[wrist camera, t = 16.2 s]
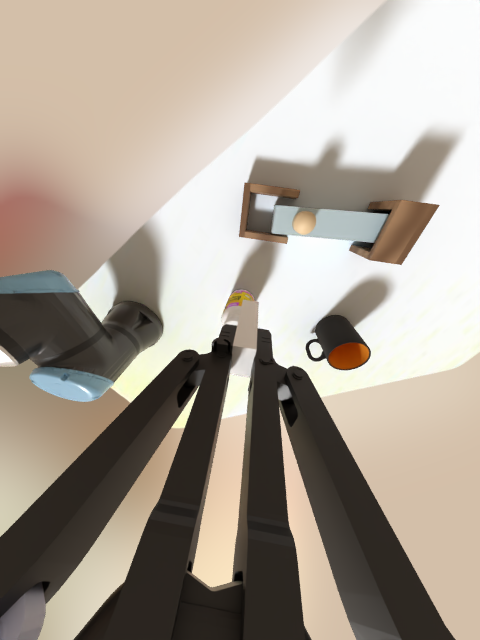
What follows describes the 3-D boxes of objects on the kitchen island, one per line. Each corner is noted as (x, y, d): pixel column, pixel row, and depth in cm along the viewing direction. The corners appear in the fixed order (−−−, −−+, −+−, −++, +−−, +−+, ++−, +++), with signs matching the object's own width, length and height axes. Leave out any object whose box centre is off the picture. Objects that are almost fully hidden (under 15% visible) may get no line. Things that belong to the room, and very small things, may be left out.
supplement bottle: (244, 283, 40) (237, 309, 30) (260, 303, 43) (259, 334, 32) (223, 298, 43) (210, 326, 32) (239, 316, 46) (232, 348, 35)
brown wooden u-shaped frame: (241, 234, 35) (239, 236, 32) (246, 185, 30) (244, 182, 27) (284, 240, 34) (286, 243, 32) (296, 192, 30) (300, 190, 27)
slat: (270, 229, 34) (272, 235, 26) (274, 205, 32) (277, 204, 24) (368, 238, 33) (399, 247, 25) (379, 214, 31) (417, 216, 23)
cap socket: (349, 250, 34) (369, 260, 27) (370, 202, 30) (401, 199, 23) (374, 254, 34) (401, 264, 27) (399, 206, 29) (439, 205, 23)
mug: (296, 328, 46) (304, 356, 37) (344, 309, 41) (365, 336, 32) (308, 349, 49) (318, 378, 40) (353, 333, 44) (375, 363, 36)
